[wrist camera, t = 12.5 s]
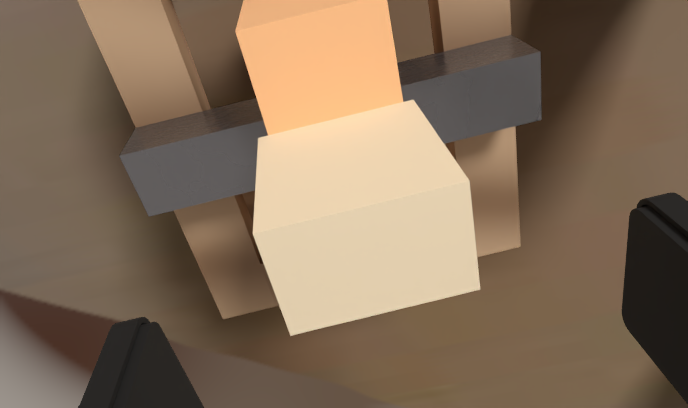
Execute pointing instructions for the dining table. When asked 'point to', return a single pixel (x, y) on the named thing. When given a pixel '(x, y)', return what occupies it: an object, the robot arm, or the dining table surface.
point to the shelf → (238, 211)
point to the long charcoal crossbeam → (248, 125)
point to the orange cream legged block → (349, 169)
